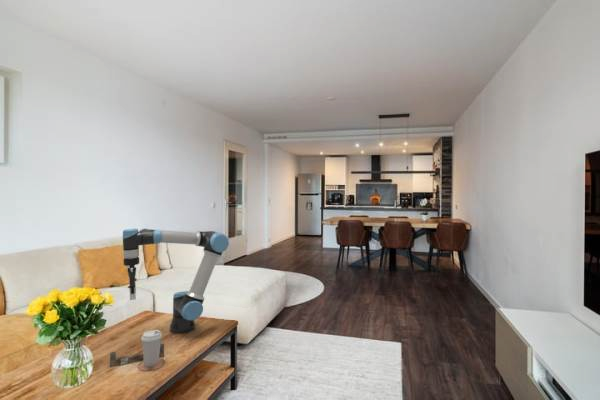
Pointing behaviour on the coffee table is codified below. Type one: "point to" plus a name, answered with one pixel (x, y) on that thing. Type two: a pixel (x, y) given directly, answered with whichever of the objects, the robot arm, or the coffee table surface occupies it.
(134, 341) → the coffee table surface
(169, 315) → the coffee table surface
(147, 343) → the coffee cup
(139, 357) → the rail
